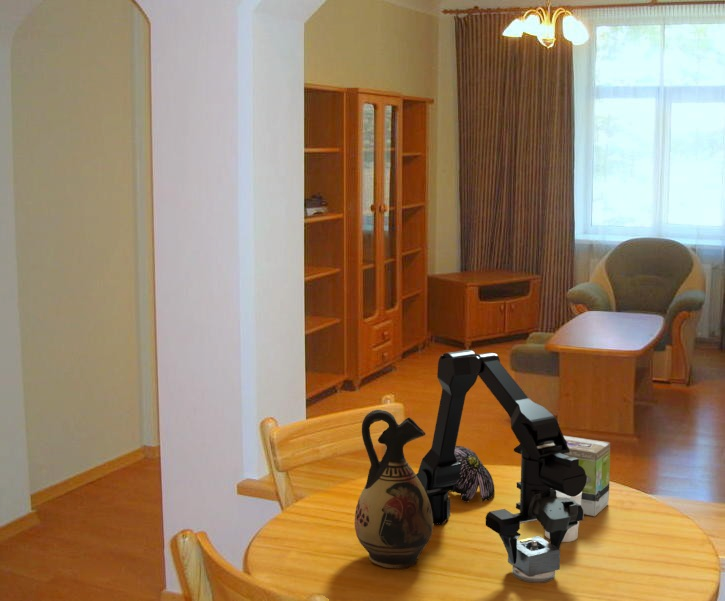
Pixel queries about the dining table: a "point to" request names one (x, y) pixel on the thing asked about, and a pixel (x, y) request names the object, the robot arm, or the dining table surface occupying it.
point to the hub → (536, 578)
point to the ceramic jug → (392, 498)
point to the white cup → (573, 531)
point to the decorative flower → (472, 476)
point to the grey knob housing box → (536, 557)
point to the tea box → (591, 471)
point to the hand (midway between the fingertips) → (533, 558)
